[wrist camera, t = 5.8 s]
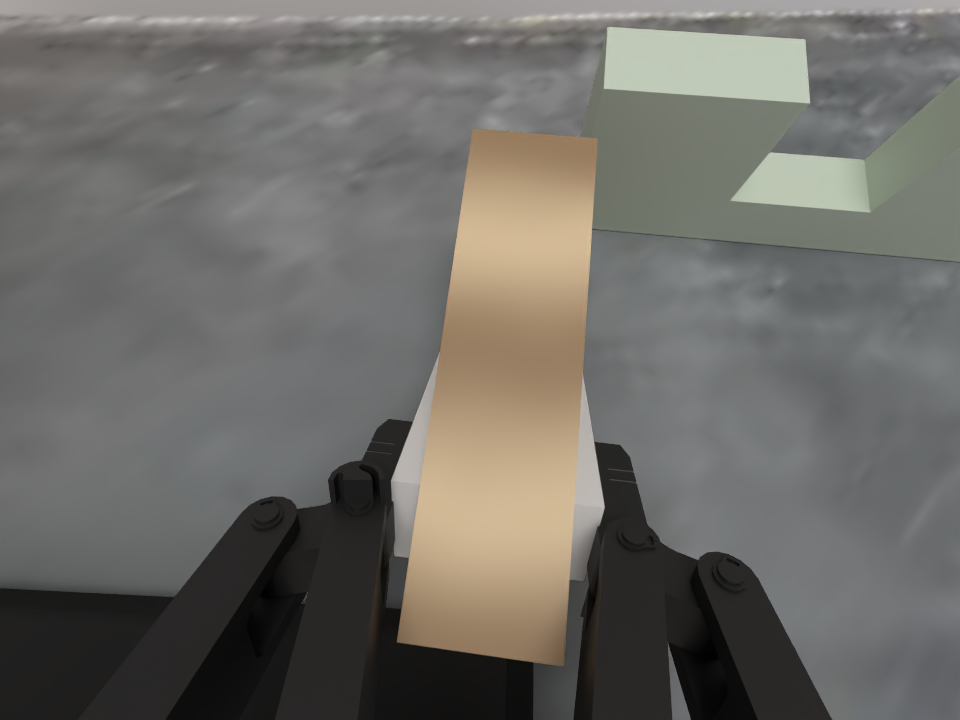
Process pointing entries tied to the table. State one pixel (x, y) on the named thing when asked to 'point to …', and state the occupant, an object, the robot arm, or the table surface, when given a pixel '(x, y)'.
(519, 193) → the tan wooden block
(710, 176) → the green u-shaped block
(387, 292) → the table surface
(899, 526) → the table surface
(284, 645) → the external hard drive
